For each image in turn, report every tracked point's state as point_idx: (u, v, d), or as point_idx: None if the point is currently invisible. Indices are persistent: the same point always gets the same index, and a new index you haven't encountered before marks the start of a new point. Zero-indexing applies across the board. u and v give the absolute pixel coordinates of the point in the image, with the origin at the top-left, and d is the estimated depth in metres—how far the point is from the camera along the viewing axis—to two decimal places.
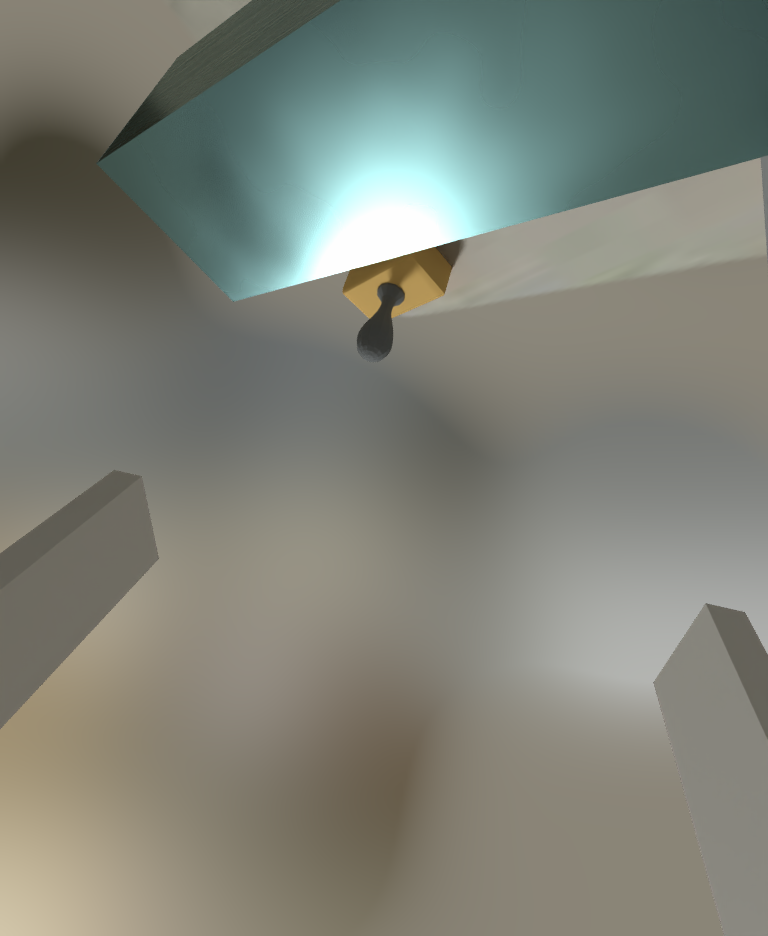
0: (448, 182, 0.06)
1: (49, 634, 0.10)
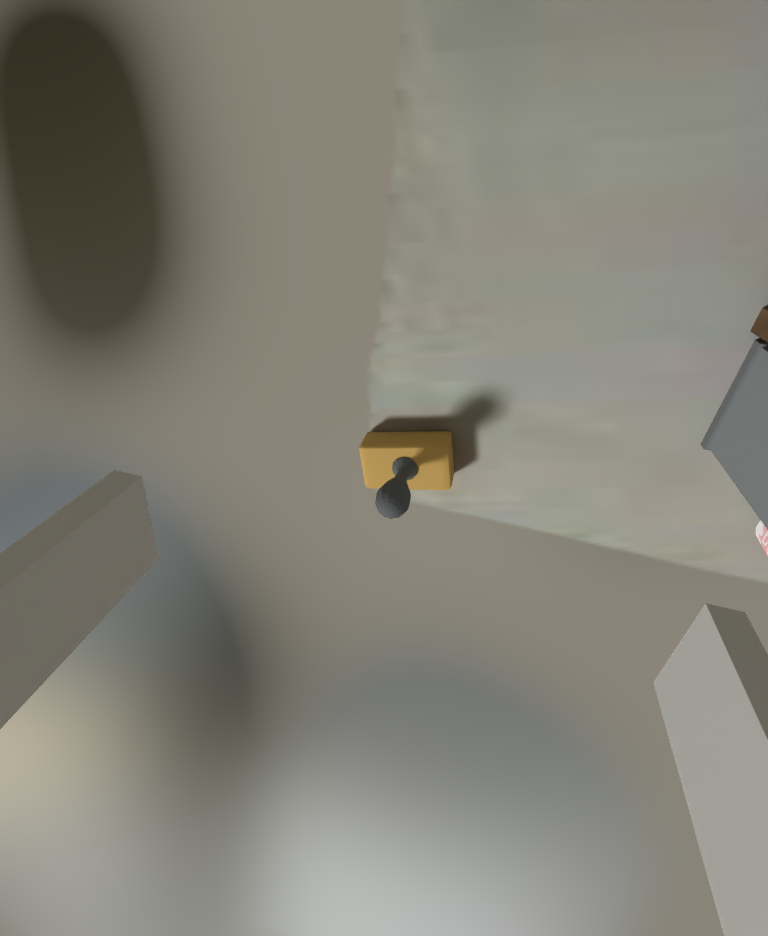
0: None
1: (49, 634, 0.10)
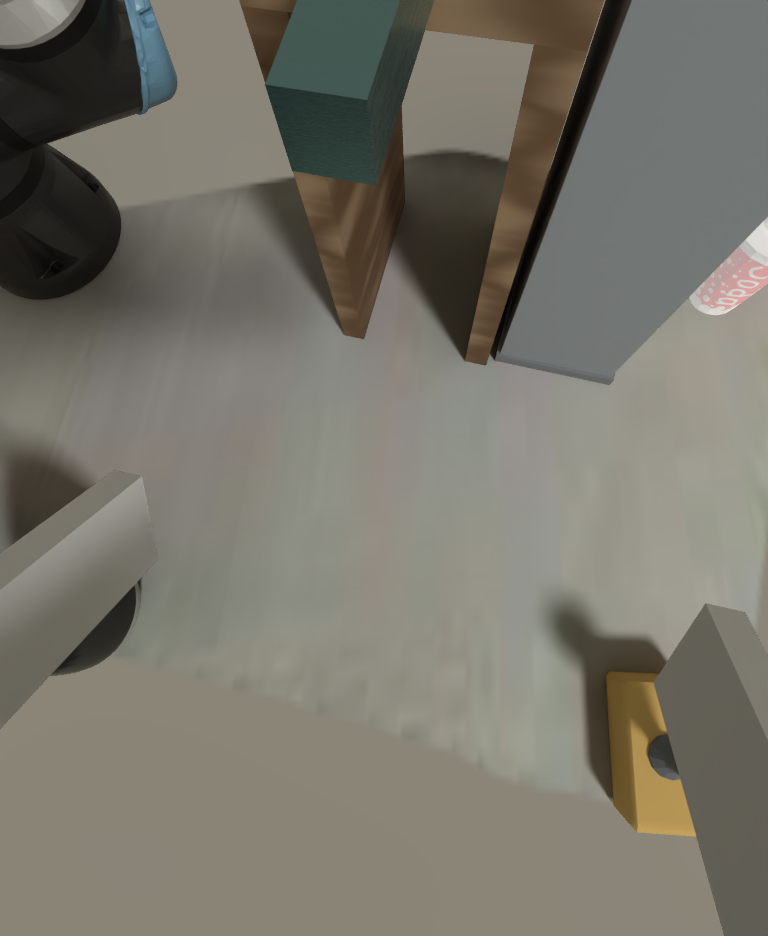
0: None
1: (49, 634, 0.10)
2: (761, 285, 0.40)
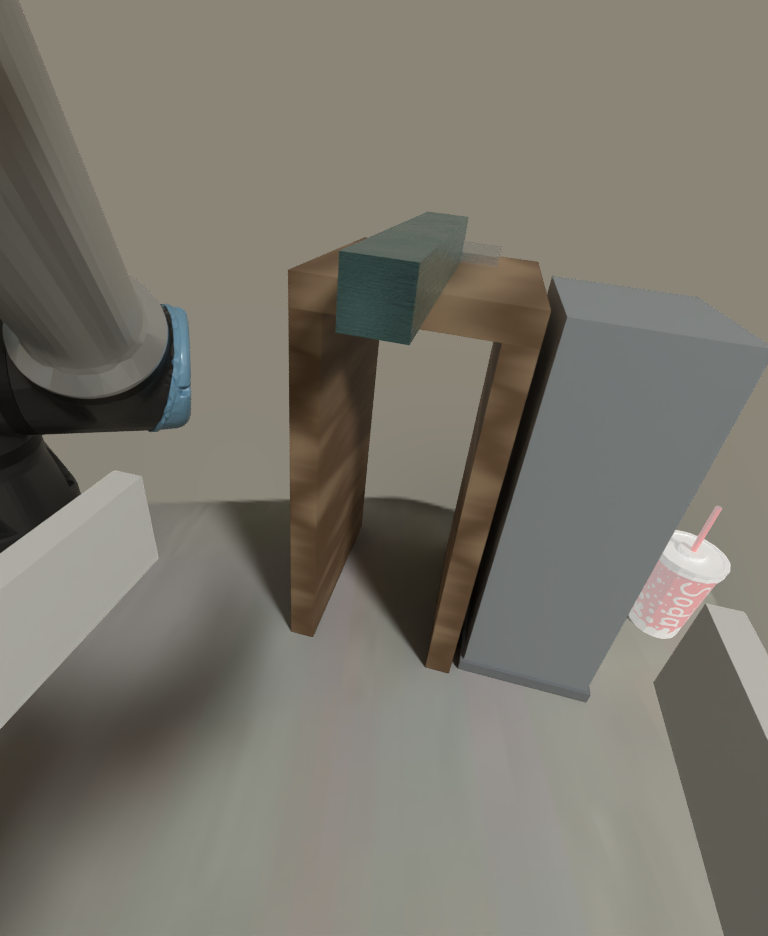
0: (420, 241, 0.20)
1: (49, 634, 0.10)
2: (695, 604, 0.43)
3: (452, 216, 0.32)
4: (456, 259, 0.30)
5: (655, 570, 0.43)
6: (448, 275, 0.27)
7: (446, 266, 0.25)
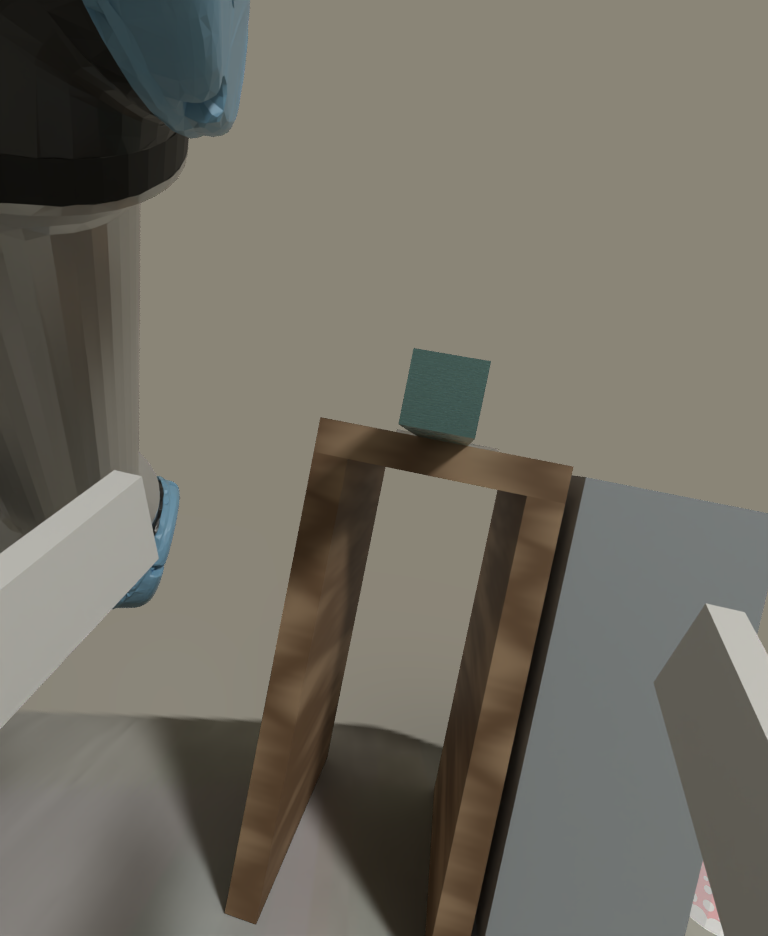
0: None
1: (49, 634, 0.10)
2: None
3: None
4: None
5: None
6: None
7: None
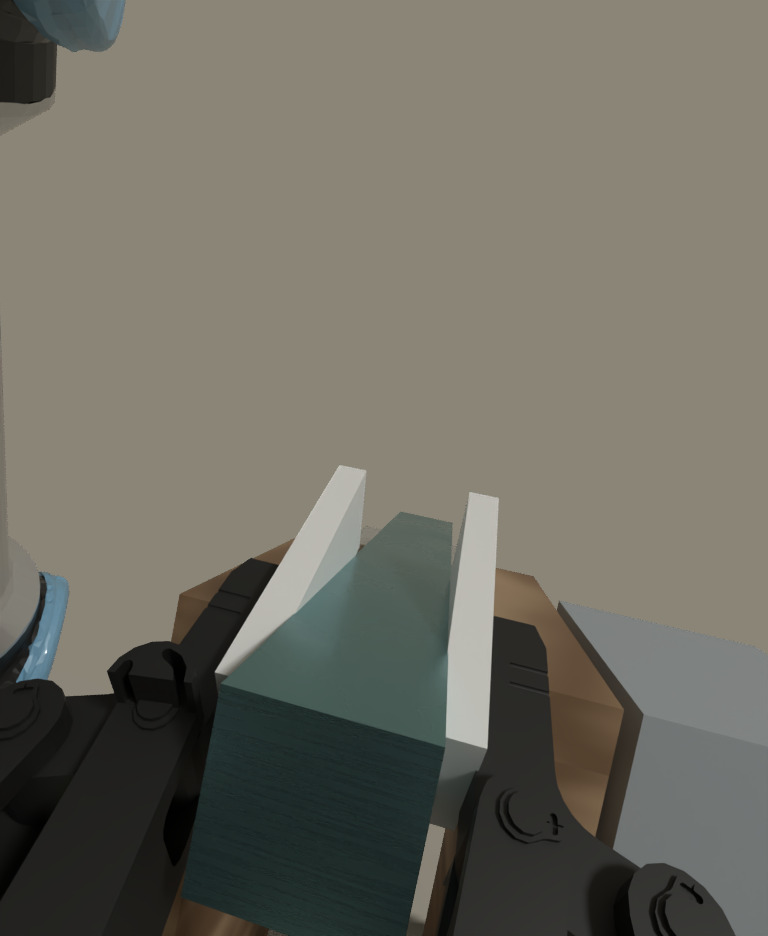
0: (412, 605, 0.10)
1: None
2: None
3: (433, 521, 0.24)
4: None
5: None
6: None
7: None
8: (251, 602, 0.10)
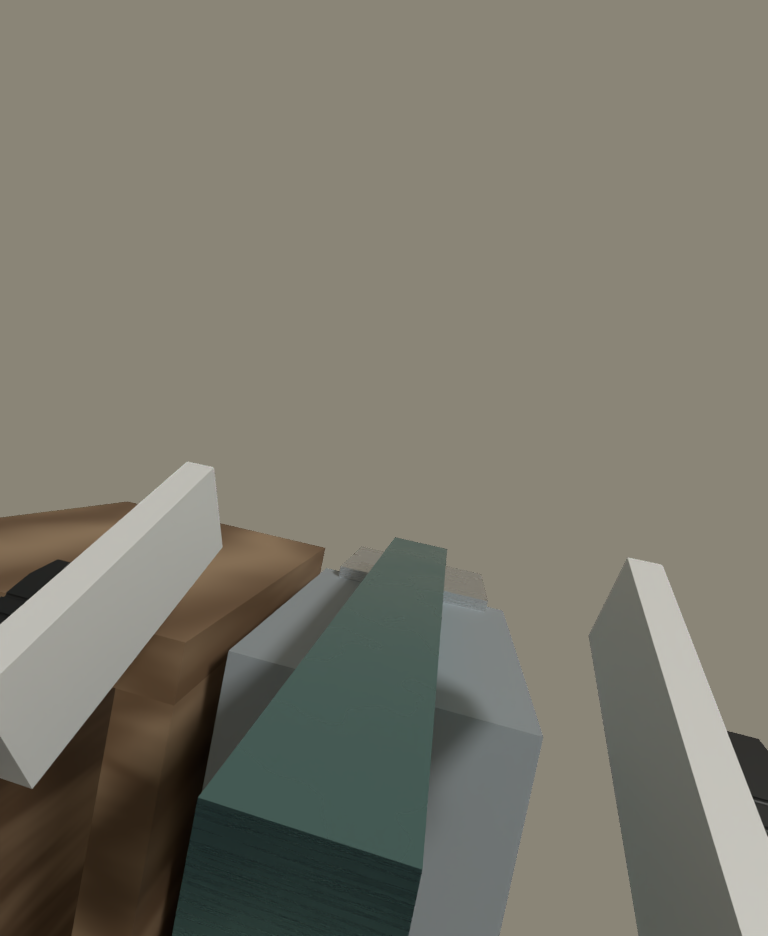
0: (400, 669, 0.10)
1: (140, 614, 0.10)
2: None
3: (427, 549, 0.24)
4: None
5: None
6: None
7: None
8: None
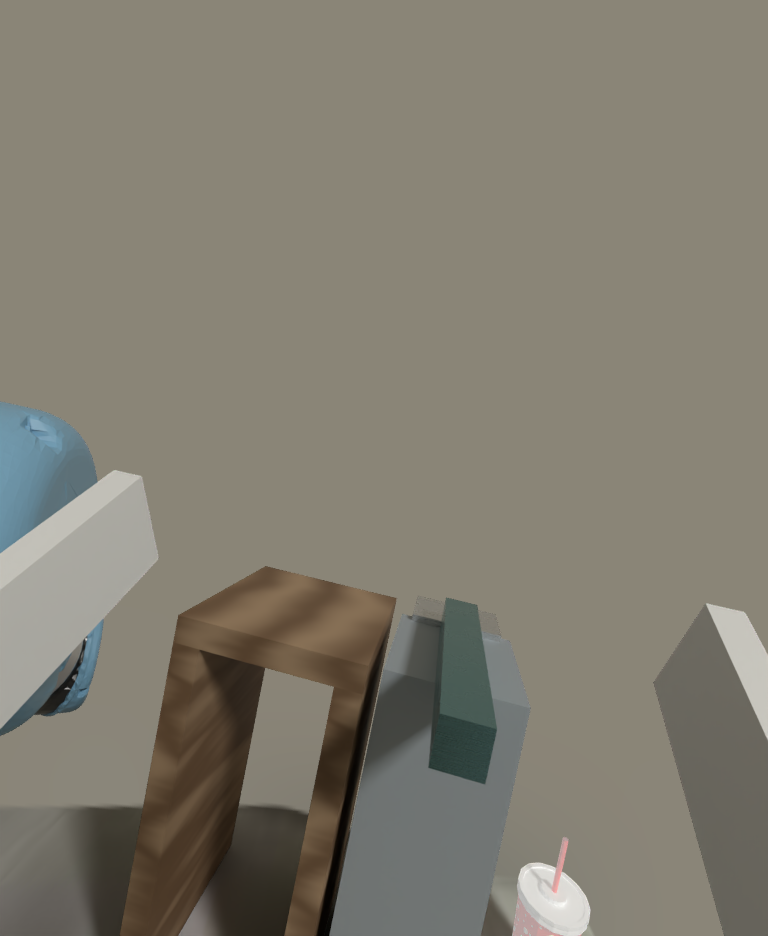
0: (475, 679, 0.28)
1: (49, 634, 0.10)
2: None
3: (466, 606, 0.42)
4: None
5: (521, 917, 0.42)
6: None
7: None
8: None
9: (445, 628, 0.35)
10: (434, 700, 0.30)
